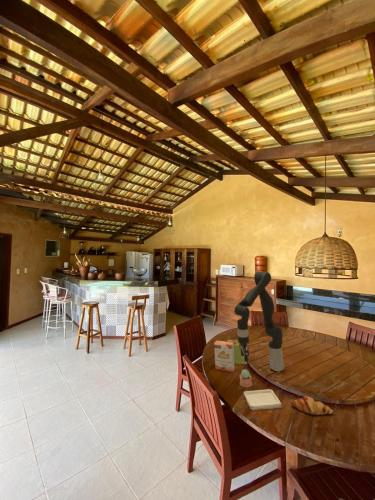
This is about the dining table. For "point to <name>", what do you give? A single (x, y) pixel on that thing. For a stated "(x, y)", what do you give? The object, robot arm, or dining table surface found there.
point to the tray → (262, 399)
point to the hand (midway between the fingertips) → (244, 358)
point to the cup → (245, 381)
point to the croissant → (311, 406)
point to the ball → (245, 373)
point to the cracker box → (224, 356)
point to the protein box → (237, 353)
